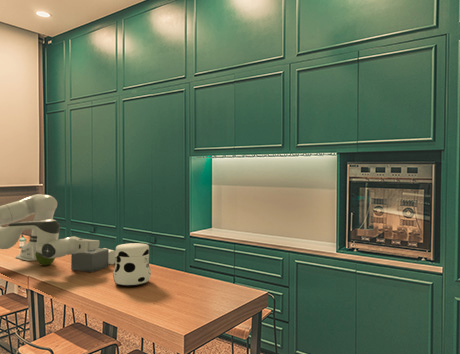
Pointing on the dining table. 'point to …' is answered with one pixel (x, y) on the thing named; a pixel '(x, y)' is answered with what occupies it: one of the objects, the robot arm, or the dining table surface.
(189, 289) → the dining table surface
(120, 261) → the milk container
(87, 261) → the grey square box
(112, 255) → the mug
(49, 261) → the apple
